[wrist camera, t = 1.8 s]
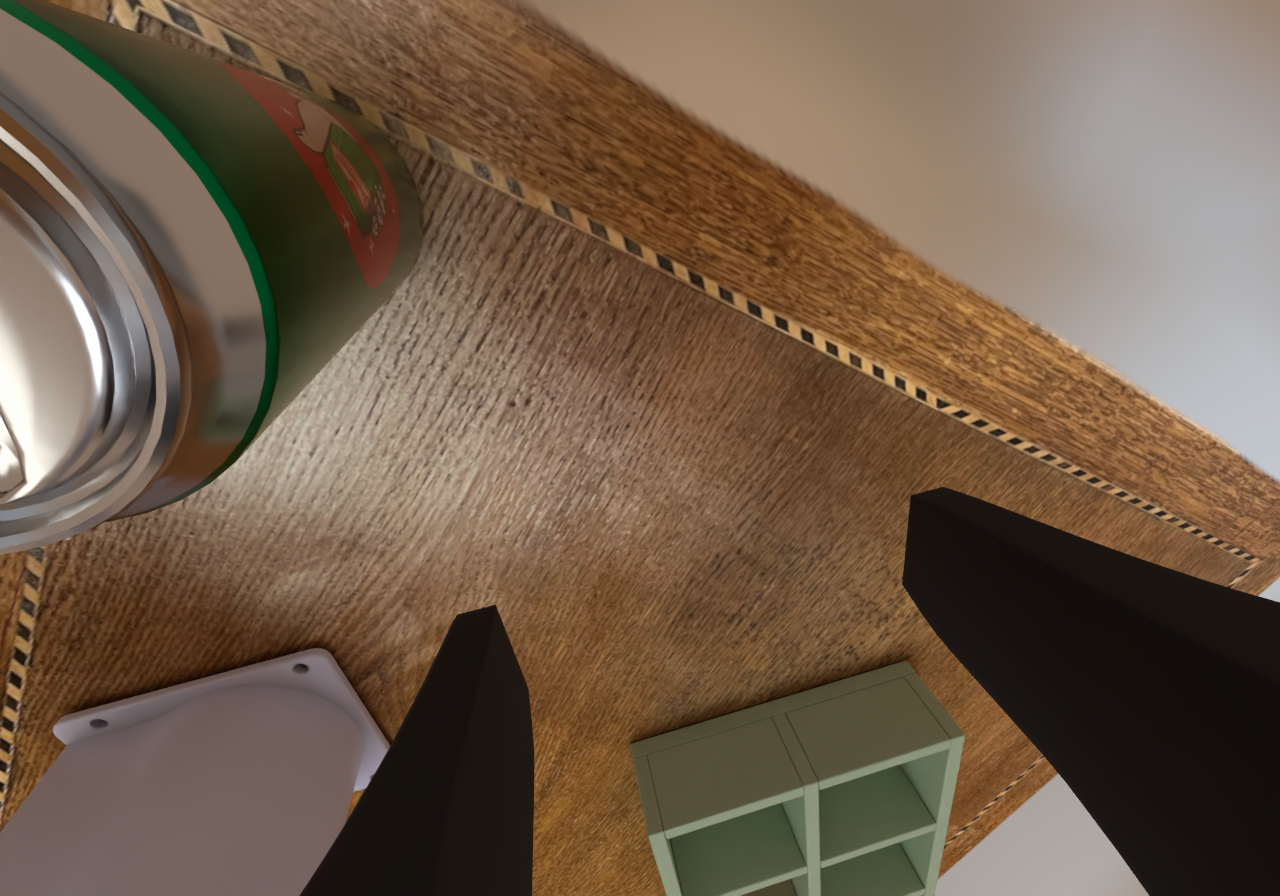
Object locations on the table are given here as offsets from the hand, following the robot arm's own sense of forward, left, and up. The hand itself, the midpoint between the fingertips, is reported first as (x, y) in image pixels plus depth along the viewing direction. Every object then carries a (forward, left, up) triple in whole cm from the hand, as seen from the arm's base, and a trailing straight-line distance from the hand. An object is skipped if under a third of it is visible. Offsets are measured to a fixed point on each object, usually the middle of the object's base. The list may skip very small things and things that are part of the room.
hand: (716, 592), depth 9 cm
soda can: (-7, +7, -10) cm, 14 cm away
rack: (+4, -29, -10) cm, 31 cm away
